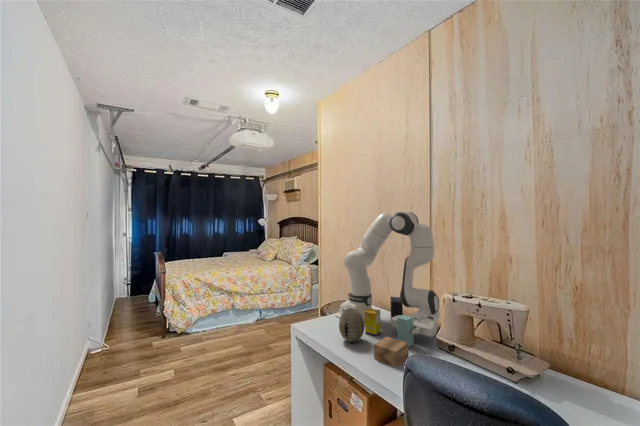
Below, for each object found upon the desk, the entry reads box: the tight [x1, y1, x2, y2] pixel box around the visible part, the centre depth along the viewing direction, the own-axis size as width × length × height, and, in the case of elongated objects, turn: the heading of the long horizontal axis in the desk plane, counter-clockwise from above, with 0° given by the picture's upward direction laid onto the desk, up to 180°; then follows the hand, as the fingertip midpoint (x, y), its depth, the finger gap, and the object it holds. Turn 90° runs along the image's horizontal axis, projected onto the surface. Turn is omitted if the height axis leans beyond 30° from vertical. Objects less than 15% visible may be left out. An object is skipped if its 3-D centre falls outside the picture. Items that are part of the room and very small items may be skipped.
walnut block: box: [373, 336, 409, 368], centre depth 118 cm, size 10×10×6 cm
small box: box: [390, 296, 404, 319], centre depth 163 cm, size 11×6×10 cm, turn 168°
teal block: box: [396, 314, 415, 349], centre depth 129 cm, size 5×5×12 cm
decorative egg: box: [338, 308, 365, 343], centre depth 135 cm, size 12×12×15 cm
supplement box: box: [364, 308, 382, 337], centre depth 143 cm, size 6×6×11 cm
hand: (404, 330), depth 128 cm, fingers closed on teal block, 5 cm apart
